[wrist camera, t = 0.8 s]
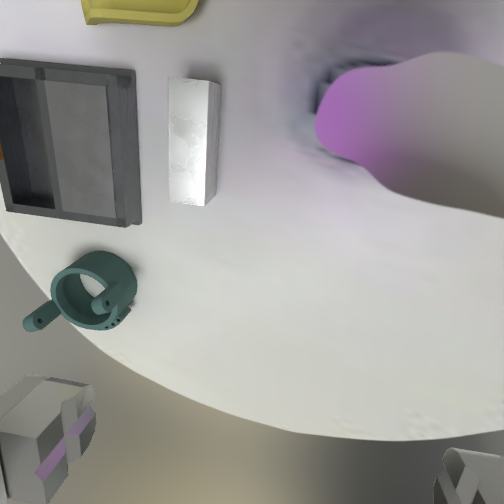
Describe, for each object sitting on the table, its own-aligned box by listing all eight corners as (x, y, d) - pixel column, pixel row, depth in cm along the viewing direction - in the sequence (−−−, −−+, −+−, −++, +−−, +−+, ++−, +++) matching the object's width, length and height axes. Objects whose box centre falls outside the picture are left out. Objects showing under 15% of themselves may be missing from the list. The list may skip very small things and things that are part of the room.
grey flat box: (6, 59, 34) (-34, 51, 30) (135, 71, 33) (112, 65, 29) (33, 208, 40) (3, 218, 36) (141, 223, 39) (123, 235, 35)
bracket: (68, 288, 45) (17, 328, 36) (89, 235, 41) (37, 267, 33) (127, 321, 45) (90, 367, 37) (153, 272, 42) (118, 312, 34)
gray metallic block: (186, 81, 33) (168, 76, 28) (221, 85, 32) (208, 80, 28) (184, 190, 37) (168, 201, 32) (216, 194, 37) (204, 206, 32)
